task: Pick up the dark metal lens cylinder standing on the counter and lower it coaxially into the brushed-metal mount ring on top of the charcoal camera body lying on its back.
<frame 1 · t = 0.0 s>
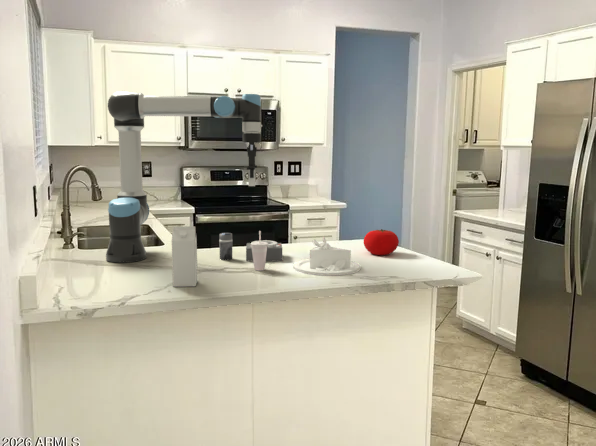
hand: (252, 184, 231), 28 cm above the countertop, fingers open, 13 cm apart
tomato: (380, 254, 231), on the countertop
lens: (226, 258, 219), on the countertop
dish: (326, 268, 206), on the countertop
camera body: (264, 258, 221), on the countertop
milk carton: (185, 284, 181), on the countertop
smoothie: (259, 269, 202), on the countertop
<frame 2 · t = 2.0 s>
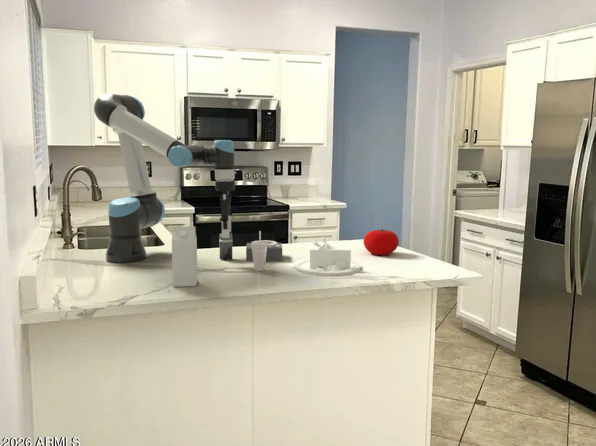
hand: (226, 234, 218), 10 cm above the countertop, fingers open, 13 cm apart
nothing on the countertop moved.
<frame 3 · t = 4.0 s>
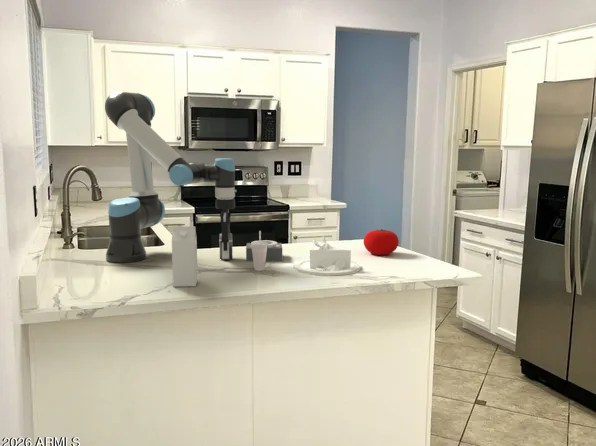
hand: (226, 256, 219), 1 cm above the countertop, fingers closed on lens, 5 cm apart
lens: (226, 258, 219), on the countertop, touching gripper
everything else where it was.
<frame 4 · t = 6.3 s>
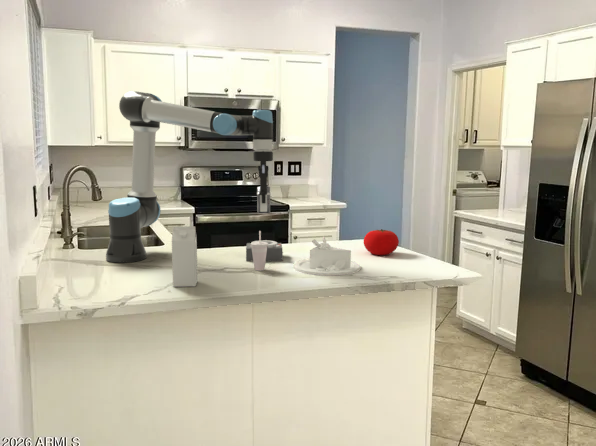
hand: (263, 210, 218), 19 cm above the countertop, fingers closed on lens, 5 cm apart
lens: (263, 212, 219), point 18 cm above the countertop, touching gripper
everything else where it was.
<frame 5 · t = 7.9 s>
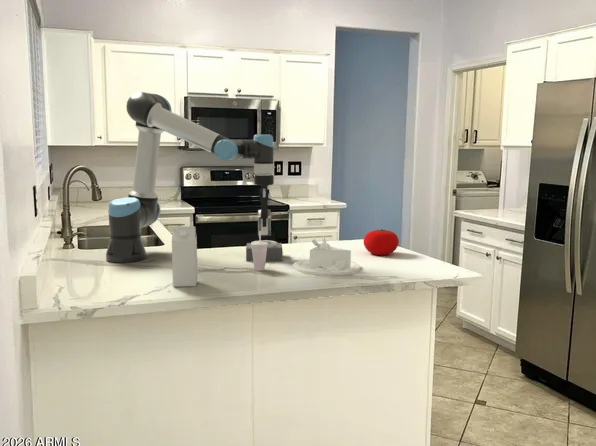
hand: (264, 233, 220), 10 cm above the countertop, fingers closed on lens, 5 cm apart
lens: (264, 235, 220), point 9 cm above the countertop, touching gripper
everything else where it was.
when the fingers open (8 cm above the countertop, at t = 9.1 s): lens drops 2 cm, resting on camera body.
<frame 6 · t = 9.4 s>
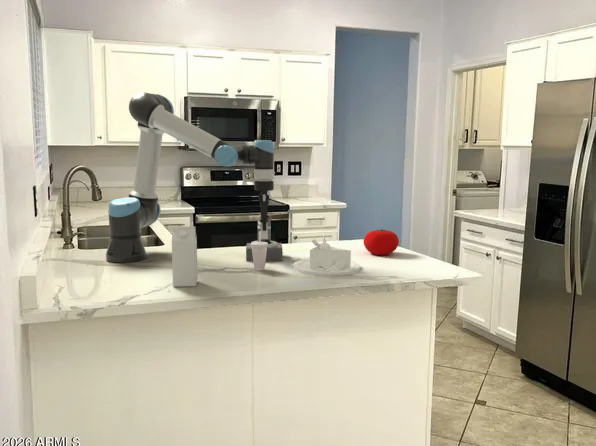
hand: (264, 236, 220), 9 cm above the countertop, fingers open, 10 cm apart
lens: (264, 245, 221), point 5 cm above the countertop, touching camera body
everything else where it was.
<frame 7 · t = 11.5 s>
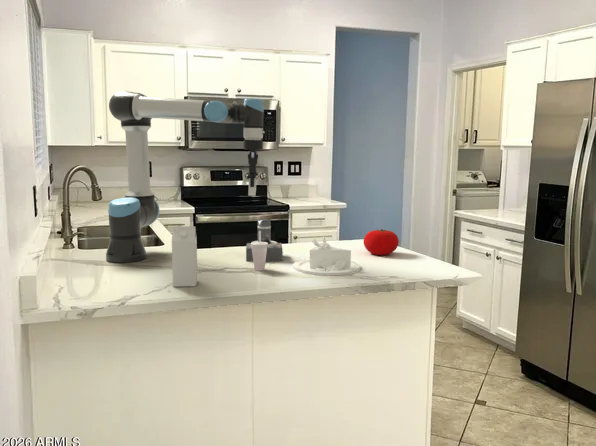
hand: (252, 193, 220), 25 cm above the countertop, fingers open, 13 cm apart
nothing on the countertop moved.
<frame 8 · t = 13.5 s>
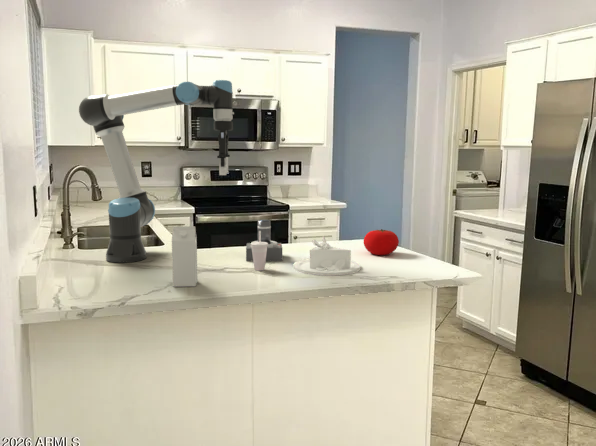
hand: (224, 174, 224), 33 cm above the countertop, fingers open, 13 cm apart
nothing on the countertop moved.
at the end: lens 0.1 cm from the camera body (horizontally); lens point 5.0 cm above the countertop; lens tilted 0° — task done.
